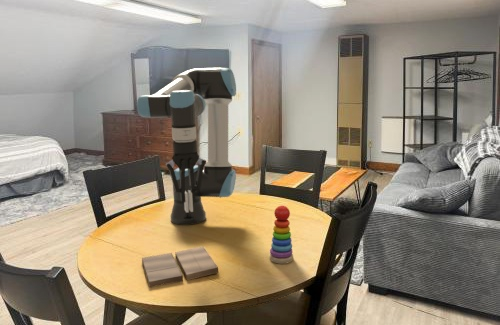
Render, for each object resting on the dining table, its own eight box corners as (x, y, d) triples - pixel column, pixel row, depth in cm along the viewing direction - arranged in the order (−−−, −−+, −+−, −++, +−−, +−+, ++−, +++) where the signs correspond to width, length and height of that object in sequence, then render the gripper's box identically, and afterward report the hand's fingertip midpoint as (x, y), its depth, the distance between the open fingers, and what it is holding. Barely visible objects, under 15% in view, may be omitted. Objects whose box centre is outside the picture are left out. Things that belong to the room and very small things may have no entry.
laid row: (142, 262, 141) (141, 257, 141) (171, 257, 145) (171, 252, 144) (149, 287, 125) (149, 281, 124) (183, 280, 128) (182, 275, 128)
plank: (175, 257, 145) (175, 252, 145) (203, 250, 148) (203, 246, 148) (187, 280, 129) (186, 274, 128) (218, 272, 132) (217, 267, 131)
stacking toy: (292, 265, 137) (292, 210, 133) (268, 264, 138) (267, 209, 135) (294, 255, 145) (294, 203, 141) (271, 254, 146) (270, 202, 142)
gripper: (164, 144, 127) (170, 217, 132) (208, 140, 132) (212, 211, 137) (160, 140, 134) (165, 210, 139) (202, 136, 138) (206, 204, 144)
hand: (188, 210), depth 138 cm, fingers closed
